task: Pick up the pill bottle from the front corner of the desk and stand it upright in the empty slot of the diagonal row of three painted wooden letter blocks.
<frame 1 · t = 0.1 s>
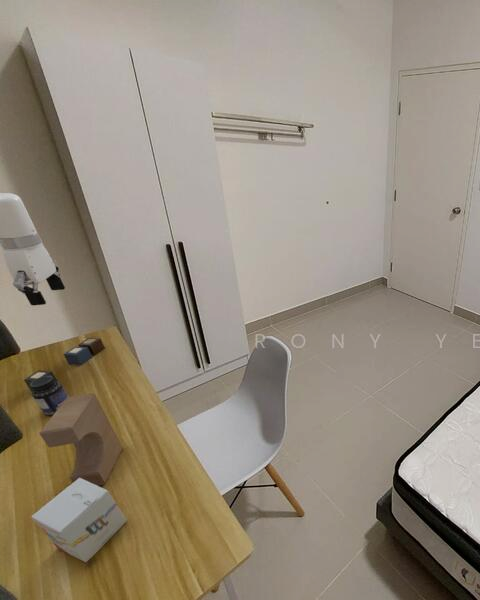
hand: (49, 296, 96), 30 cm above the table, tool pointing down, fingers open, 9 cm apart
pill bottle: (59, 409, 98), on the table
block b: (80, 360, 117), on the table
ink box: (93, 534, 69), on the table
block a: (94, 351, 122), on the table
block c: (44, 386, 105), on the table
decorative block: (102, 468, 82), on the table
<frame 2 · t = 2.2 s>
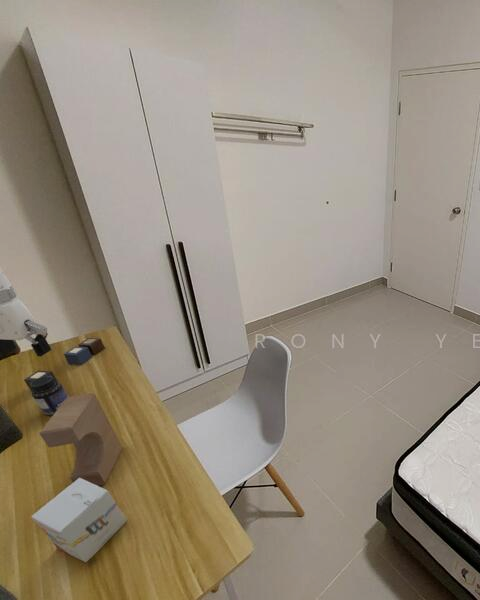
hand: (27, 352, 88), 21 cm above the table, tool pointing down, fingers open, 9 cm apart
nothing on the table moved.
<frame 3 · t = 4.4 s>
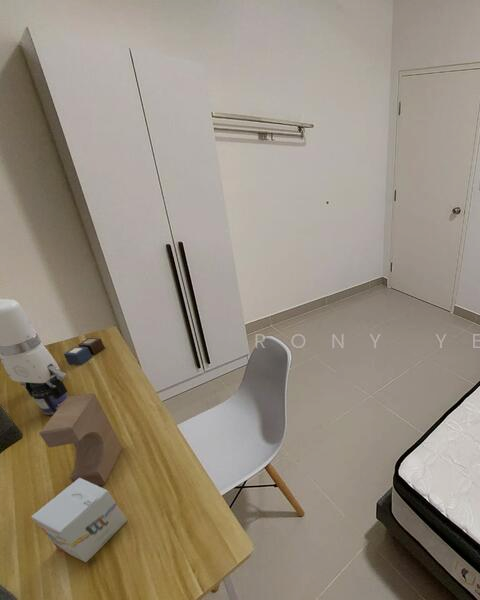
hand: (49, 393, 95), 6 cm above the table, tool pointing down, fingers closed on pill bottle, 6 cm apart
pill bottle: (59, 409, 98), on the table, touching gripper
everything else where it was.
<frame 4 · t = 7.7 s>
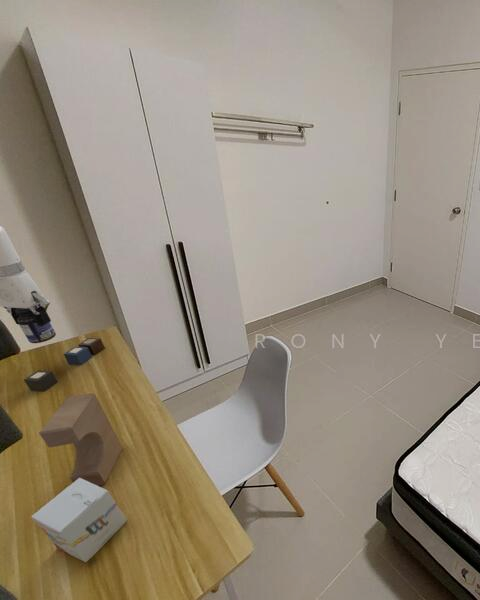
hand: (34, 322, 101), 21 cm above the table, tool pointing down, fingers closed on pill bottle, 6 cm apart
pill bottle: (43, 338, 103), point 15 cm above the table, touching gripper
everything else where it was.
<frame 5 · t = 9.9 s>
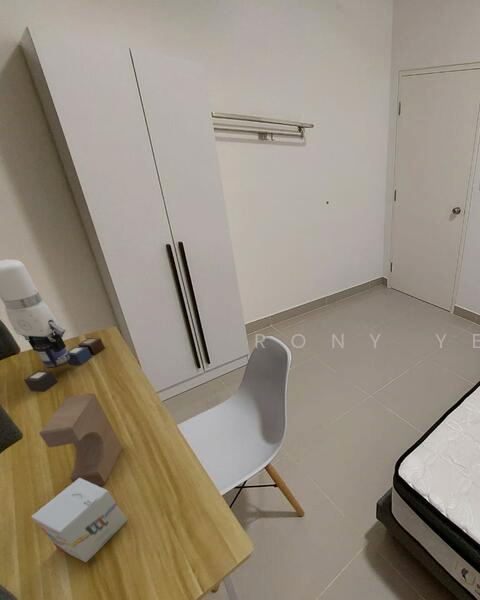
hand: (50, 348, 106), 10 cm above the table, tool pointing down, fingers closed on pill bottle, 6 cm apart
pill bottle: (58, 363, 109), point 4 cm above the table, touching gripper
everything else where it was.
when the fingers open (6 cm above the table, at t = 11.5 s): pill bottle stays where it is, on the table.
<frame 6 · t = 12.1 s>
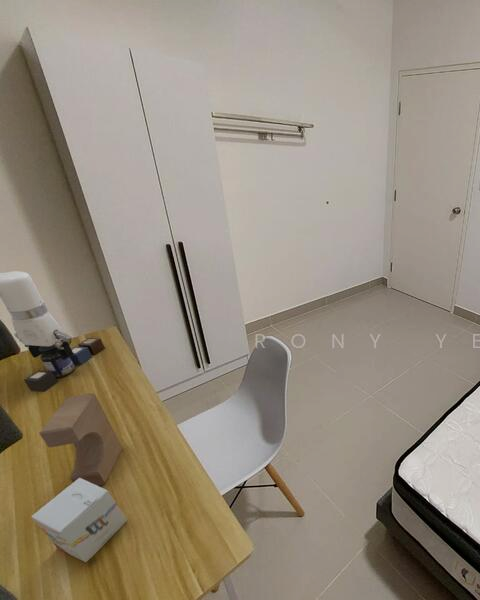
hand: (53, 355, 108), 7 cm above the table, tool pointing down, fingers open, 9 cm apart
pill bottle: (64, 373, 111), on the table
everything else where it was.
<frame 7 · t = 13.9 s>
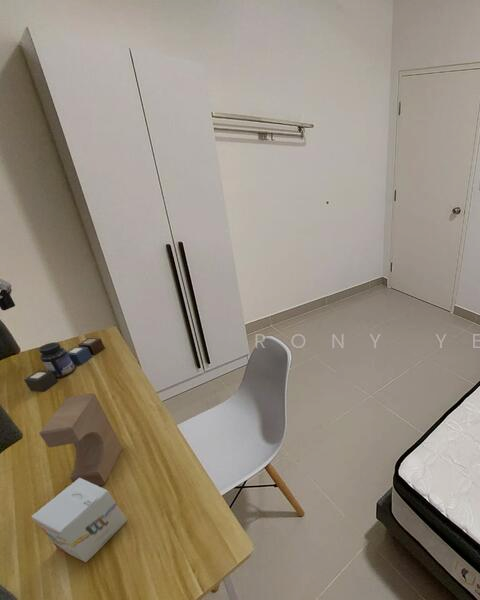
nothing on the table moved.
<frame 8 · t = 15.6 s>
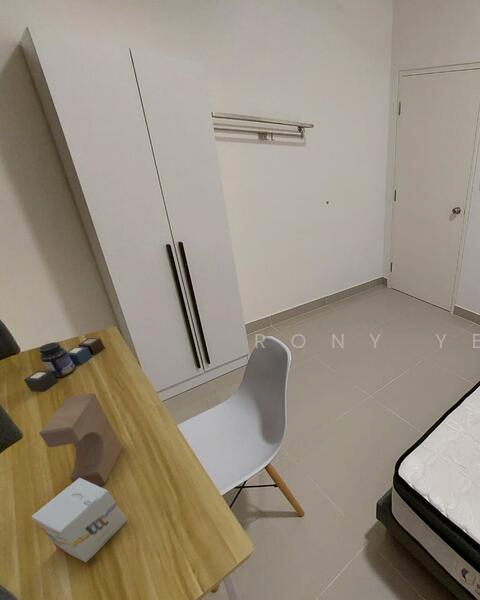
nothing on the table moved.
at the end: pill bottle 0.1 cm from the target spot on the table beside the block a, on the table; pill bottle tilted 0°; block b moved 0.0 cm from its start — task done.
